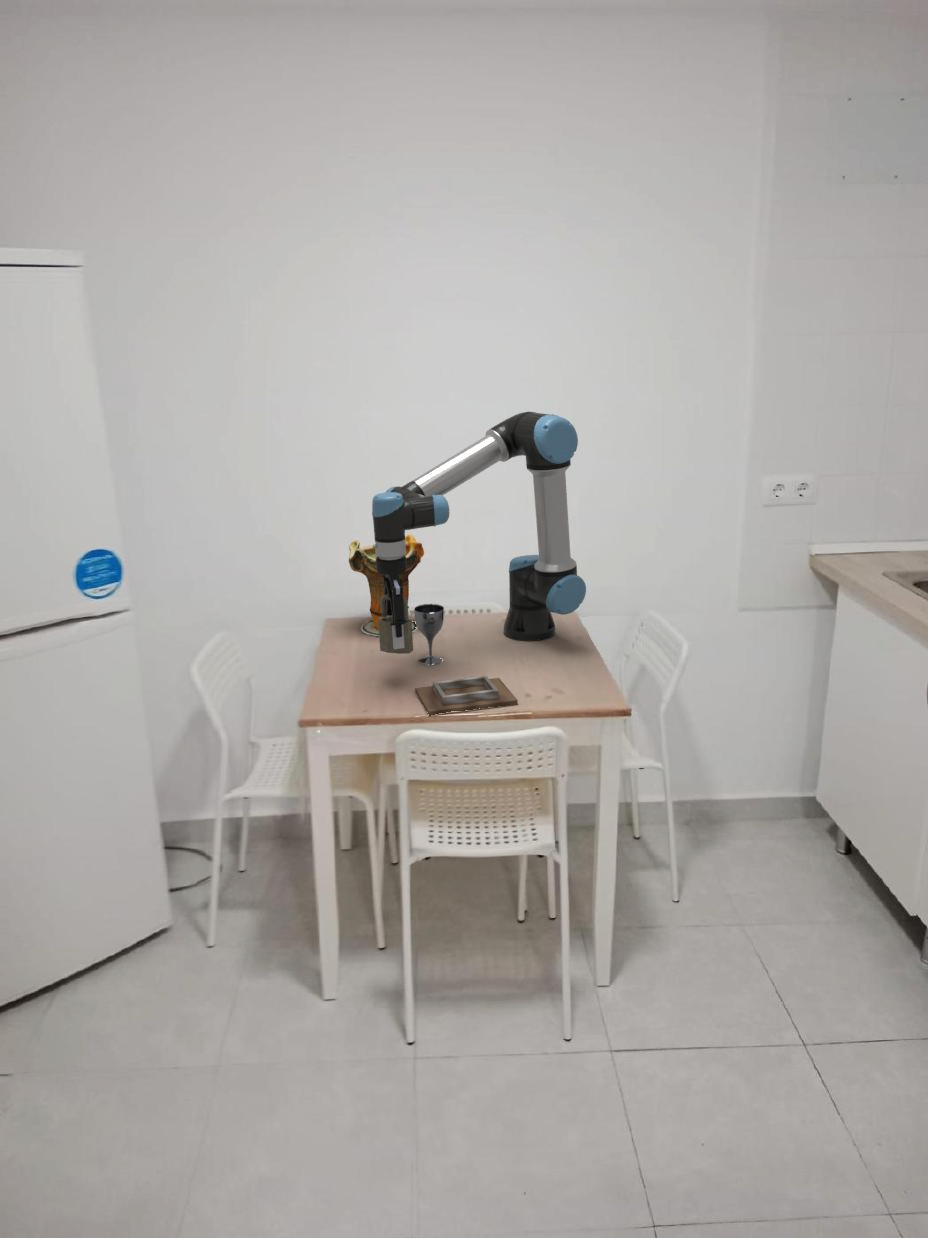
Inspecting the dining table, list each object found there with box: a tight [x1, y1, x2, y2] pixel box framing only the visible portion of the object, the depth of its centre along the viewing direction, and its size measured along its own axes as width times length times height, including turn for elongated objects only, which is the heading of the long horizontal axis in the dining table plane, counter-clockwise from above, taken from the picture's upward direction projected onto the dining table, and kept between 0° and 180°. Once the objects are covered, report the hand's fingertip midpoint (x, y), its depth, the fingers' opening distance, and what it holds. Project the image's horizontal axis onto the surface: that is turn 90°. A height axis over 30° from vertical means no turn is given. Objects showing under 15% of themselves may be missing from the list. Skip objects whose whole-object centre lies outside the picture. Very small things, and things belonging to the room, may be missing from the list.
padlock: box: [378, 594, 414, 655], centre depth 238 cm, size 4×8×15 cm, turn 71°
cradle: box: [414, 675, 519, 717], centre depth 231 cm, size 22×15×3 cm
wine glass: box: [413, 603, 445, 666], centre depth 254 cm, size 8×8×15 cm
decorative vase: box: [348, 534, 425, 637], centre depth 279 cm, size 21×23×28 cm
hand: (396, 643), depth 240 cm, fingers closed on padlock, 6 cm apart
